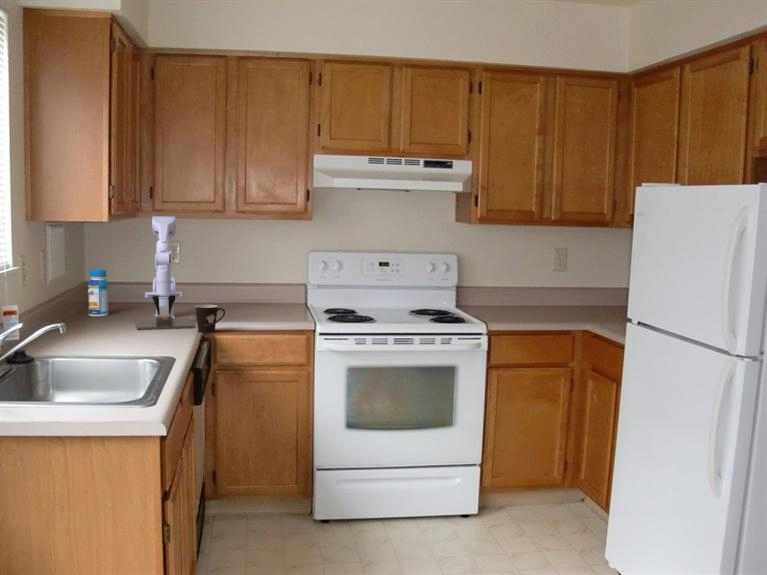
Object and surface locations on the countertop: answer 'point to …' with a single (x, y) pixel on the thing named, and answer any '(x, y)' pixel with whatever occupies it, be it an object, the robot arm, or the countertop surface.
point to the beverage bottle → (98, 293)
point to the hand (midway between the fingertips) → (163, 314)
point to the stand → (163, 323)
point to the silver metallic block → (164, 311)
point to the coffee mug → (207, 317)
